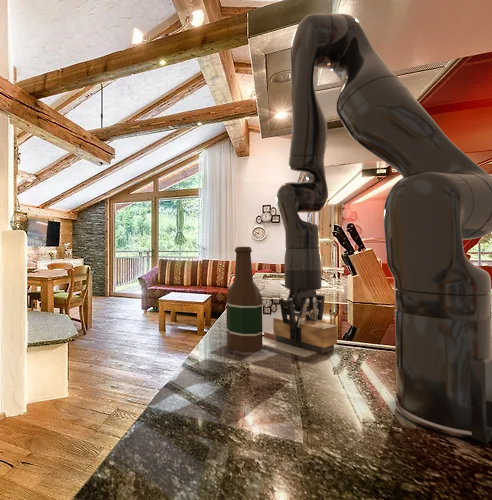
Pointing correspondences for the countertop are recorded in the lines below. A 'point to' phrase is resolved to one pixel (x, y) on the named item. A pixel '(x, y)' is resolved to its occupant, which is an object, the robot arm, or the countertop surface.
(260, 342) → the beer bottle
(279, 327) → the scrub brush
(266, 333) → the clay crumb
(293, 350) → the white tile
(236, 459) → the countertop surface
